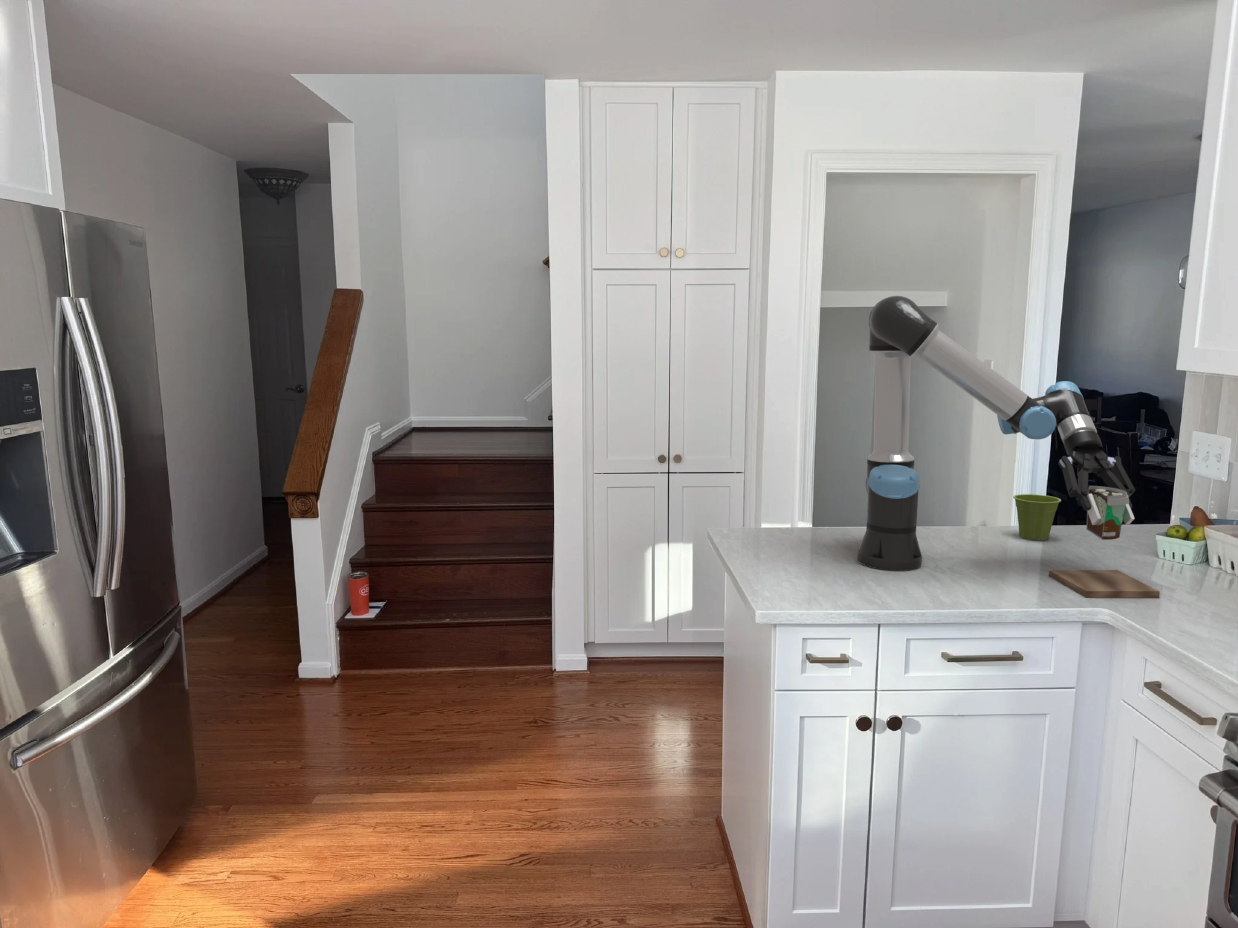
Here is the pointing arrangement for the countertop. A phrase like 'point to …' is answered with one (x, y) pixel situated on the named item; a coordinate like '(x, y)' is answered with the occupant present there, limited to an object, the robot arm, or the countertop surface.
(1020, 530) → the plant pot
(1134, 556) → the countertop surface
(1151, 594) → the walnut board
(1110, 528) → the food container
